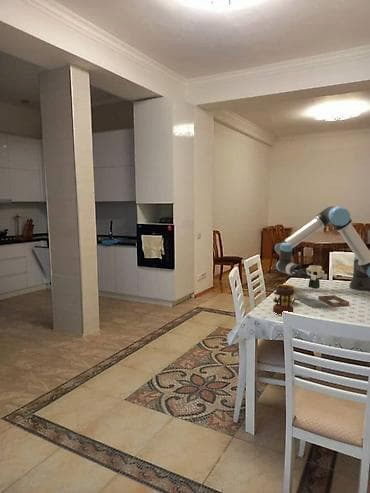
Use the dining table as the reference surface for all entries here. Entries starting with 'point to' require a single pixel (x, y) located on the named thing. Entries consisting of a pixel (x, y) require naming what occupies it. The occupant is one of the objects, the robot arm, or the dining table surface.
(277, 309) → the music box
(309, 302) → the slate coaster
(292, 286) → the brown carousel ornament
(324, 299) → the brown rectangular slab
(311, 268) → the character mug
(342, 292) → the dining table surface
